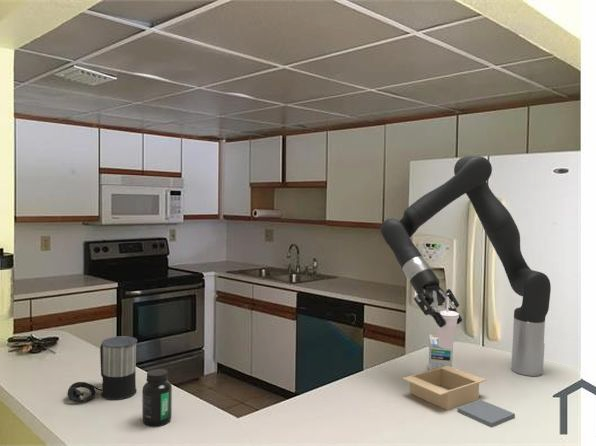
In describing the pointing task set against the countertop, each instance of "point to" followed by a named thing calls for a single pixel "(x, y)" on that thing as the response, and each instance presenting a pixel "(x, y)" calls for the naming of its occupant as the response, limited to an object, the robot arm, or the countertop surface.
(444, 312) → the smoothie
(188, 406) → the countertop surface
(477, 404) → the mat
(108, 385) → the milk frother
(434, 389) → the carton
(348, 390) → the countertop surface
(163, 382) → the supplement bottle
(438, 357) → the light bulb box
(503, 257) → the robot arm
